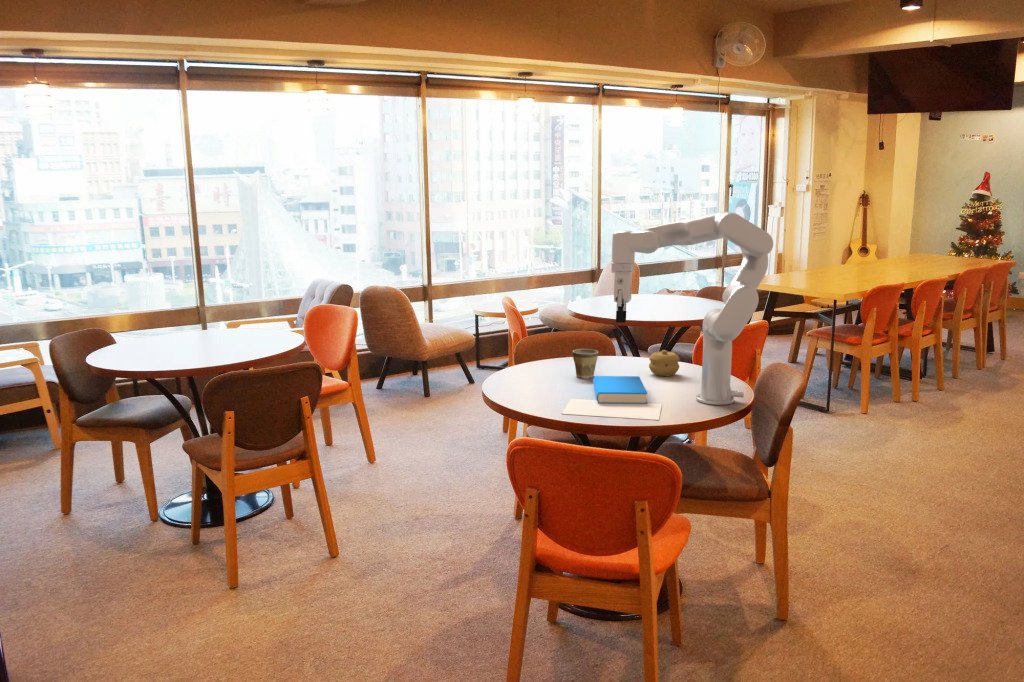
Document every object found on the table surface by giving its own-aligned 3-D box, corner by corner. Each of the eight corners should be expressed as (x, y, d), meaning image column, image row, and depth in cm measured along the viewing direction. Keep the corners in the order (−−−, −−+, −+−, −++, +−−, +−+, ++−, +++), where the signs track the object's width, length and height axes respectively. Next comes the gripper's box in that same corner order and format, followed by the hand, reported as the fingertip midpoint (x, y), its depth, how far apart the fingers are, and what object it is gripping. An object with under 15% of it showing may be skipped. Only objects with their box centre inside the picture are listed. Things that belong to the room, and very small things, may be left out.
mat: (661, 404, 269) (661, 404, 269) (658, 420, 251) (658, 419, 251) (570, 399, 276) (570, 398, 276) (561, 414, 258) (561, 413, 258)
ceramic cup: (598, 379, 305) (599, 354, 303) (572, 379, 305) (573, 353, 303) (596, 372, 317) (596, 347, 315) (570, 371, 318) (571, 347, 316)
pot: (676, 371, 318) (677, 347, 316) (681, 378, 306) (682, 353, 304) (646, 371, 318) (647, 347, 316) (650, 378, 306) (651, 353, 304)
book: (639, 376, 293) (648, 391, 268) (638, 387, 294) (647, 404, 269) (592, 375, 294) (597, 391, 269) (592, 387, 294) (596, 403, 270)
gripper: (631, 270, 258) (629, 326, 261) (636, 266, 272) (634, 319, 275) (608, 269, 259) (606, 325, 263) (614, 265, 274) (612, 318, 277)
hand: (620, 322), depth 269 cm, fingers closed
